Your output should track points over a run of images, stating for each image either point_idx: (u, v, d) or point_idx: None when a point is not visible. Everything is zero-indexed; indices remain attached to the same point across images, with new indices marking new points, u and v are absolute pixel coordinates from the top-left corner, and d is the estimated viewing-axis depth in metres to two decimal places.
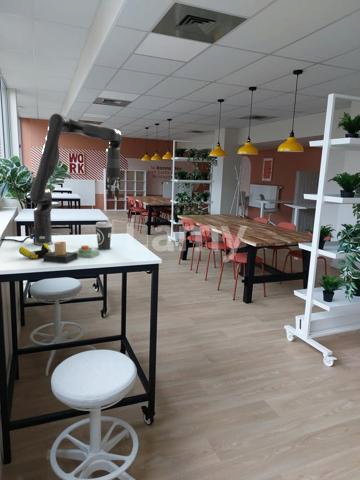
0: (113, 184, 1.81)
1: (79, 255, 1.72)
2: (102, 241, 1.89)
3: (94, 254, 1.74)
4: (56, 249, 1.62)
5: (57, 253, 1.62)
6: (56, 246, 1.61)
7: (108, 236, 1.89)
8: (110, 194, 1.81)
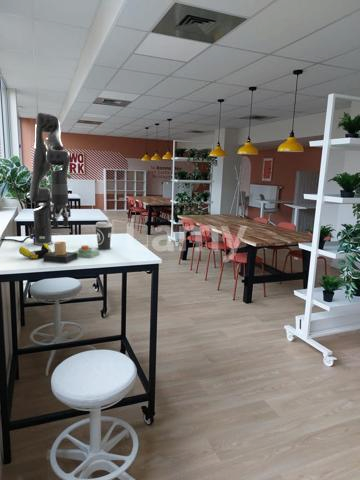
0: (59, 213, 1.58)
1: (79, 255, 1.72)
2: (102, 241, 1.89)
3: (94, 254, 1.74)
4: (56, 249, 1.62)
5: (57, 253, 1.62)
6: (56, 246, 1.61)
7: (108, 236, 1.89)
8: (55, 225, 1.57)
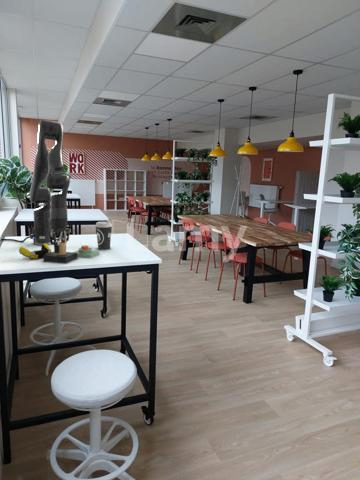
0: (59, 237, 1.60)
1: (79, 255, 1.72)
2: (102, 241, 1.89)
3: (94, 254, 1.74)
4: None
5: (57, 253, 1.62)
6: None
7: (108, 236, 1.89)
8: (56, 249, 1.60)
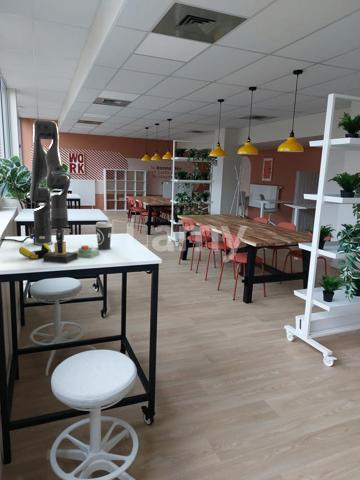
0: (63, 237, 1.61)
1: (79, 255, 1.72)
2: (102, 241, 1.89)
3: (94, 254, 1.74)
4: None
5: (60, 253, 1.62)
6: None
7: (108, 236, 1.89)
8: (61, 249, 1.60)
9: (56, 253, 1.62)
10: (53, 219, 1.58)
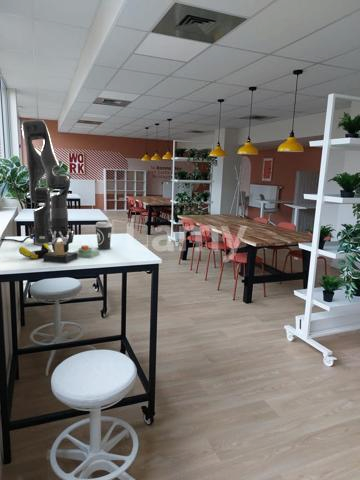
0: (67, 236, 1.64)
1: (79, 255, 1.72)
2: (102, 241, 1.89)
3: (94, 254, 1.74)
4: None
5: (65, 252, 1.64)
6: None
7: (108, 236, 1.89)
8: (68, 248, 1.64)
9: (61, 253, 1.62)
10: (61, 219, 1.59)
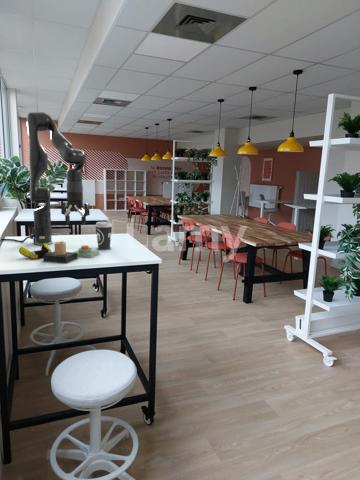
0: None
1: (79, 255, 1.72)
2: (102, 241, 1.89)
3: (94, 254, 1.74)
4: (64, 249, 1.63)
5: (65, 252, 1.64)
6: (64, 245, 1.63)
7: (108, 236, 1.89)
8: (85, 220, 1.68)
9: (62, 253, 1.62)
10: (77, 193, 1.63)
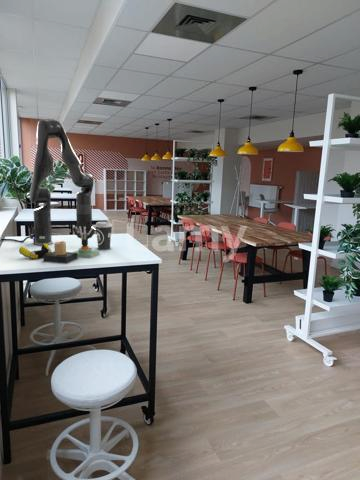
0: None
1: (79, 255, 1.72)
2: (102, 241, 1.89)
3: (94, 254, 1.74)
4: (64, 249, 1.63)
5: (65, 252, 1.64)
6: (64, 245, 1.63)
7: (108, 236, 1.89)
8: (87, 242, 1.75)
9: (62, 253, 1.62)
10: (86, 215, 1.69)
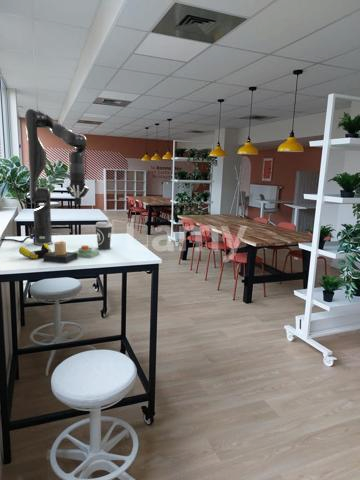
0: None
1: (79, 255, 1.72)
2: (102, 241, 1.89)
3: (94, 254, 1.74)
4: (64, 249, 1.63)
5: (65, 252, 1.64)
6: (64, 245, 1.63)
7: (108, 236, 1.89)
8: (80, 201, 1.83)
9: (62, 253, 1.62)
10: (79, 174, 1.77)
